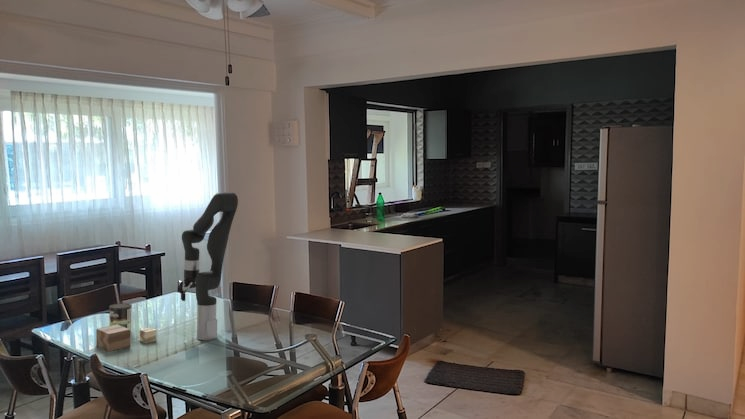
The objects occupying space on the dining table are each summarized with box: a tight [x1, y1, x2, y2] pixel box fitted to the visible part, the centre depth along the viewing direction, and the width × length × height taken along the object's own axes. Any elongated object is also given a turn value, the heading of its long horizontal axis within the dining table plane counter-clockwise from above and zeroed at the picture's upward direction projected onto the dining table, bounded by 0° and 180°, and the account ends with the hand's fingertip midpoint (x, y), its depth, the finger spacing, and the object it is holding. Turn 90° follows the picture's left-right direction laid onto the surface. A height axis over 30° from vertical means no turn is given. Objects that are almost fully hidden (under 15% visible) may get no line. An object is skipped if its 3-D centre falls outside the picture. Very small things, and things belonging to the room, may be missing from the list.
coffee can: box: [108, 302, 133, 334], centre depth 274 cm, size 10×10×14 cm
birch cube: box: [139, 327, 157, 344], centre depth 263 cm, size 6×6×6 cm
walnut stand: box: [95, 325, 131, 352], centre depth 254 cm, size 12×10×8 cm
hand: (190, 299), depth 278 cm, fingers open, 8 cm apart
